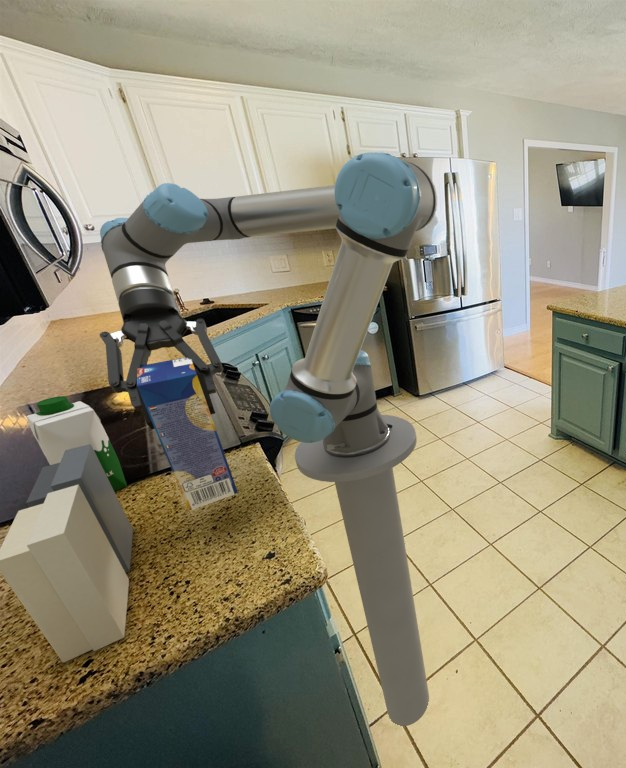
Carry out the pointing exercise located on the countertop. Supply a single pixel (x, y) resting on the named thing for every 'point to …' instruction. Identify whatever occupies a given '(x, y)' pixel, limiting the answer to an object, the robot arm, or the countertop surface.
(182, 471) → the beverage box
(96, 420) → the milk carton
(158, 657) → the countertop surface
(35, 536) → the cream books
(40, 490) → the grey books
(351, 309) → the robot arm
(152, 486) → the countertop surface
